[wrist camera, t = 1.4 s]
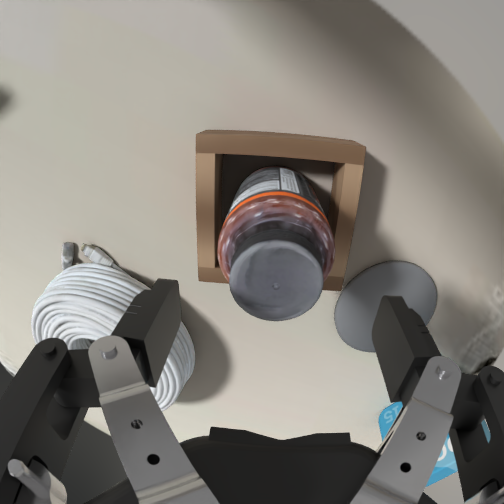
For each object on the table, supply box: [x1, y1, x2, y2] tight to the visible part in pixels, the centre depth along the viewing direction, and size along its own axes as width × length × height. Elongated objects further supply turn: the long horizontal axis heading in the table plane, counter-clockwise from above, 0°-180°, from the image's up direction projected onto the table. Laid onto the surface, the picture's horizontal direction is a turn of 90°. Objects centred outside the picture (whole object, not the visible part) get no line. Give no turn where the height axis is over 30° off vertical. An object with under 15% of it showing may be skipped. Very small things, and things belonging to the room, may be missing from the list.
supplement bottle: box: [217, 166, 336, 321], centre depth 18 cm, size 6×6×11 cm
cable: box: [31, 242, 195, 411], centre depth 28 cm, size 18×18×6 cm
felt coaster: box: [334, 261, 437, 352], centre depth 26 cm, size 10×10×1 cm
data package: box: [379, 402, 491, 487], centre depth 27 cm, size 12×4×12 cm, turn 137°
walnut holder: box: [196, 130, 366, 291], centre depth 22 cm, size 10×10×3 cm
